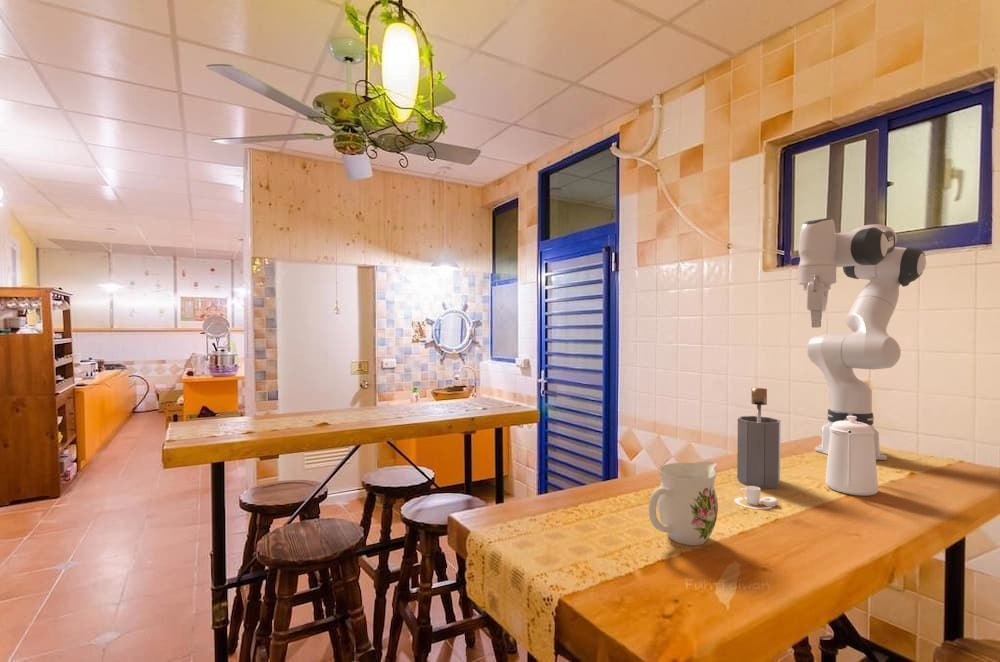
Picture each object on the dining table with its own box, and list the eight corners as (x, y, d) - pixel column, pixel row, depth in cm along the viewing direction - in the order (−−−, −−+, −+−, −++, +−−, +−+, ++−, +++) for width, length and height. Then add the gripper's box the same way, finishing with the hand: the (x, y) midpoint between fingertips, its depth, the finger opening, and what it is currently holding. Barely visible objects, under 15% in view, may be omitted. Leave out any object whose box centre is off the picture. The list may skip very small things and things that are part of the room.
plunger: (745, 472, 135) (746, 386, 135) (775, 477, 131) (776, 388, 131) (741, 479, 129) (741, 389, 129) (772, 484, 125) (773, 391, 125)
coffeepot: (821, 499, 118) (821, 421, 117) (828, 474, 137) (829, 407, 137) (878, 509, 111) (879, 426, 111) (877, 481, 131) (878, 411, 131)
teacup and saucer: (780, 505, 115) (780, 488, 115) (771, 515, 109) (771, 496, 109) (740, 496, 121) (740, 480, 121) (729, 505, 115) (729, 488, 115)
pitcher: (628, 538, 96) (629, 468, 96) (691, 520, 105) (691, 456, 105) (673, 561, 86) (674, 483, 86) (738, 540, 95) (738, 469, 95)
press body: (743, 472, 139) (743, 413, 139) (782, 478, 134) (782, 417, 134) (735, 484, 129) (735, 420, 129) (777, 491, 123) (777, 424, 123)
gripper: (829, 273, 125) (829, 327, 125) (831, 279, 142) (830, 327, 142) (800, 274, 129) (800, 327, 129) (805, 280, 146) (805, 327, 146)
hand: (816, 327), depth 136 cm, fingers open, 8 cm apart
